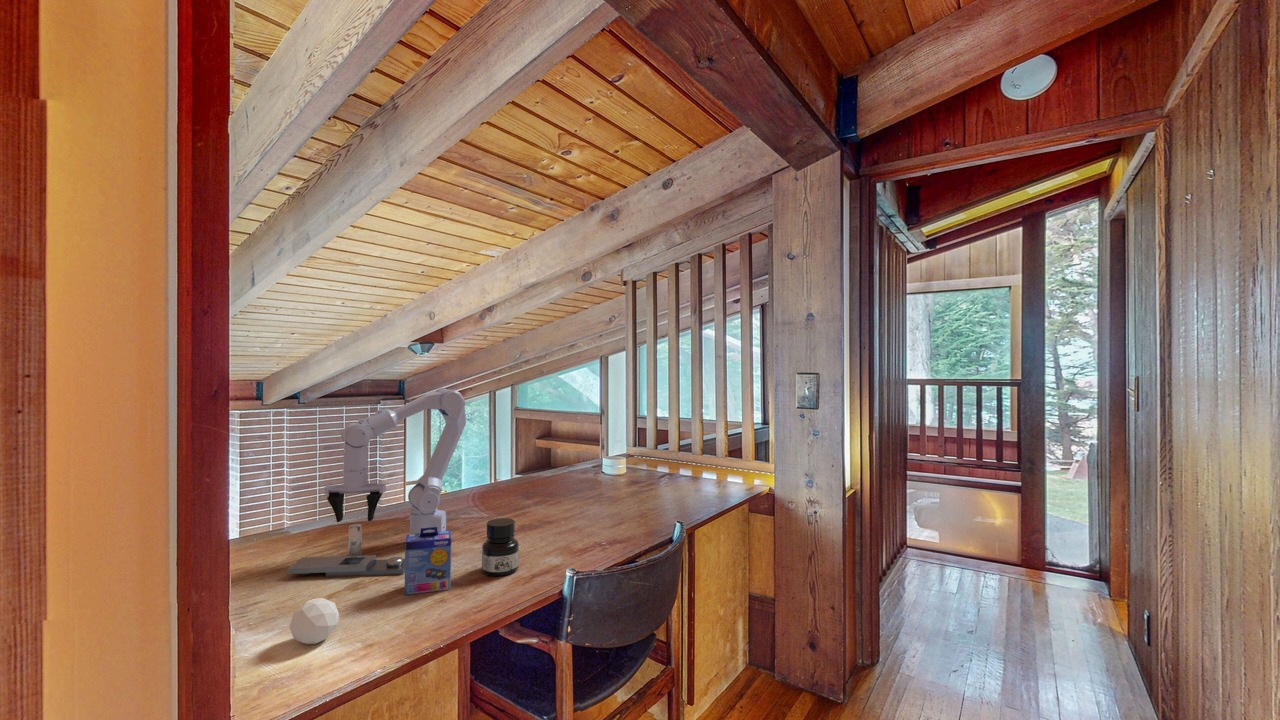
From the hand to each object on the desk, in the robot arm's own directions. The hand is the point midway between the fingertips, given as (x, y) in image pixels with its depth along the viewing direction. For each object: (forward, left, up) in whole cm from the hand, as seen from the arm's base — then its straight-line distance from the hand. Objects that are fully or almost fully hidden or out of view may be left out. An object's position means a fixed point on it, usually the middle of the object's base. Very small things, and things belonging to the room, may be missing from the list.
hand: (355, 520), depth 141 cm
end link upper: (+1, +10, -9) cm, 14 cm away
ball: (-9, +43, -10) cm, 45 cm away
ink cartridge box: (-24, +22, -10) cm, 34 cm away
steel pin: (0, 0, -9) cm, 9 cm away
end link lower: (-7, +10, -9) cm, 16 cm away
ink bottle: (-39, +13, -10) cm, 42 cm away
